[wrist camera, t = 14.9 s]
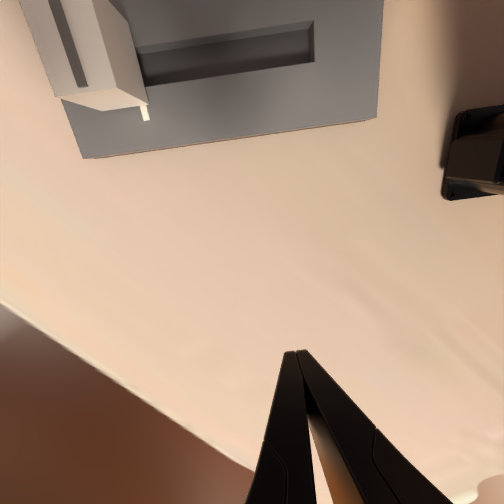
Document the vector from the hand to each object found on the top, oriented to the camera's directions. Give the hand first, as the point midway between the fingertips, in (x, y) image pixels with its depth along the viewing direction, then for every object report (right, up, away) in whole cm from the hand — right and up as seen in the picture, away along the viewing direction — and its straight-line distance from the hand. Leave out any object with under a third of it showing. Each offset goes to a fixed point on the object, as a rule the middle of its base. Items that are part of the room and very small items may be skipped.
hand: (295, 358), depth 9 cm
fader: (-10, +15, +6) cm, 19 cm away
